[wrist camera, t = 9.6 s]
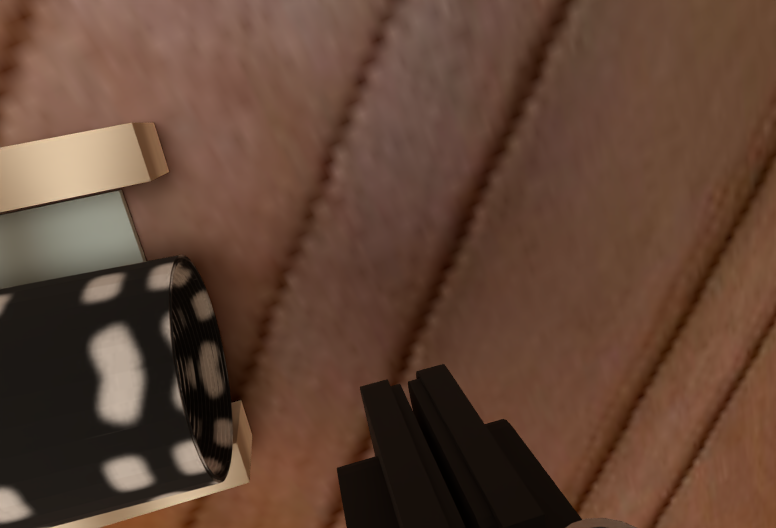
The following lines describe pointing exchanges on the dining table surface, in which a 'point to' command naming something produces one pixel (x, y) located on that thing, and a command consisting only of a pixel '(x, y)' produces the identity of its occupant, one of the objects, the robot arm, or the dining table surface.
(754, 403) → the dining table surface
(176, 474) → the spotted tube
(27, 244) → the open-ended tray
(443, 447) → the robot arm
